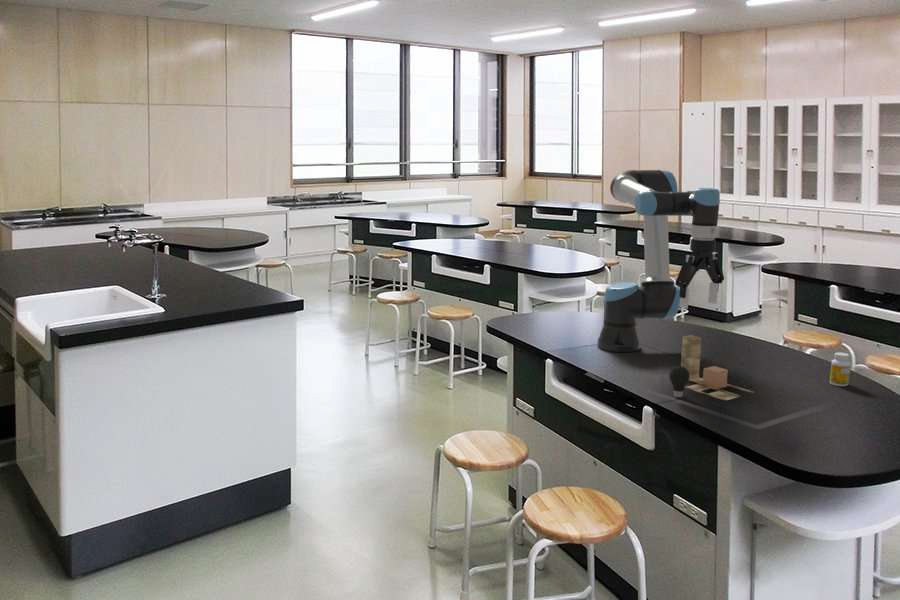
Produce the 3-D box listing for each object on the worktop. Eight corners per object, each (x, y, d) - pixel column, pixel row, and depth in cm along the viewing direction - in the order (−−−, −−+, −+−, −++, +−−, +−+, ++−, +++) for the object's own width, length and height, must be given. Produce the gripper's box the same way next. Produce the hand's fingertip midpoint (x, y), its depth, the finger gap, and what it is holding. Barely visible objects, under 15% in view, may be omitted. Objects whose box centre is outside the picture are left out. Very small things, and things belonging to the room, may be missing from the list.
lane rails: (683, 390, 248) (683, 386, 248) (712, 383, 256) (712, 379, 256) (725, 403, 236) (725, 399, 236) (754, 395, 244) (754, 391, 244)
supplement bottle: (825, 381, 259) (829, 351, 257) (842, 381, 260) (845, 351, 258) (835, 386, 254) (838, 356, 252) (851, 386, 254) (855, 356, 252)
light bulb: (671, 394, 244) (673, 362, 242) (690, 398, 241) (692, 365, 239) (665, 399, 239) (667, 366, 237) (684, 403, 236) (686, 369, 234)
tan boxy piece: (677, 379, 259) (680, 336, 256) (687, 377, 262) (690, 334, 259) (717, 392, 247) (720, 346, 244) (727, 389, 250) (731, 344, 247)
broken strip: (685, 390, 249) (685, 386, 249) (696, 387, 252) (696, 384, 251) (727, 403, 237) (727, 399, 237) (738, 400, 240) (738, 397, 239)
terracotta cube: (702, 384, 251) (703, 368, 250) (712, 381, 254) (714, 366, 253) (716, 388, 247) (717, 372, 246) (726, 385, 250) (727, 369, 249)
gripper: (685, 243, 244) (680, 312, 249) (739, 237, 258) (733, 303, 263) (666, 239, 251) (661, 307, 255) (719, 234, 264) (714, 298, 269)
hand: (698, 305), depth 259 cm, fingers open, 13 cm apart
